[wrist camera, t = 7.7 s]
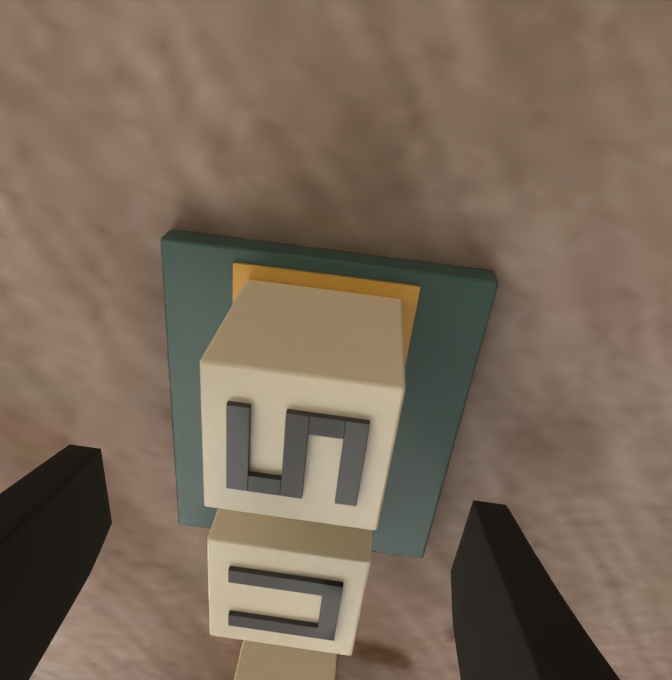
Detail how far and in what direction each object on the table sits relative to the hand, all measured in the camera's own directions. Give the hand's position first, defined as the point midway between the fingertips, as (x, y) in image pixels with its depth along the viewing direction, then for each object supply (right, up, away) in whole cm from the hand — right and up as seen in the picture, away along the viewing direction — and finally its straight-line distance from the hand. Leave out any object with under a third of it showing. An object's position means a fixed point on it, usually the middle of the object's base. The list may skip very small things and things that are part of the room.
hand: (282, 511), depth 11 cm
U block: (0, -2, +8) cm, 8 cm away
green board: (0, +1, +7) cm, 7 cm away
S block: (0, +3, +5) cm, 6 cm away
